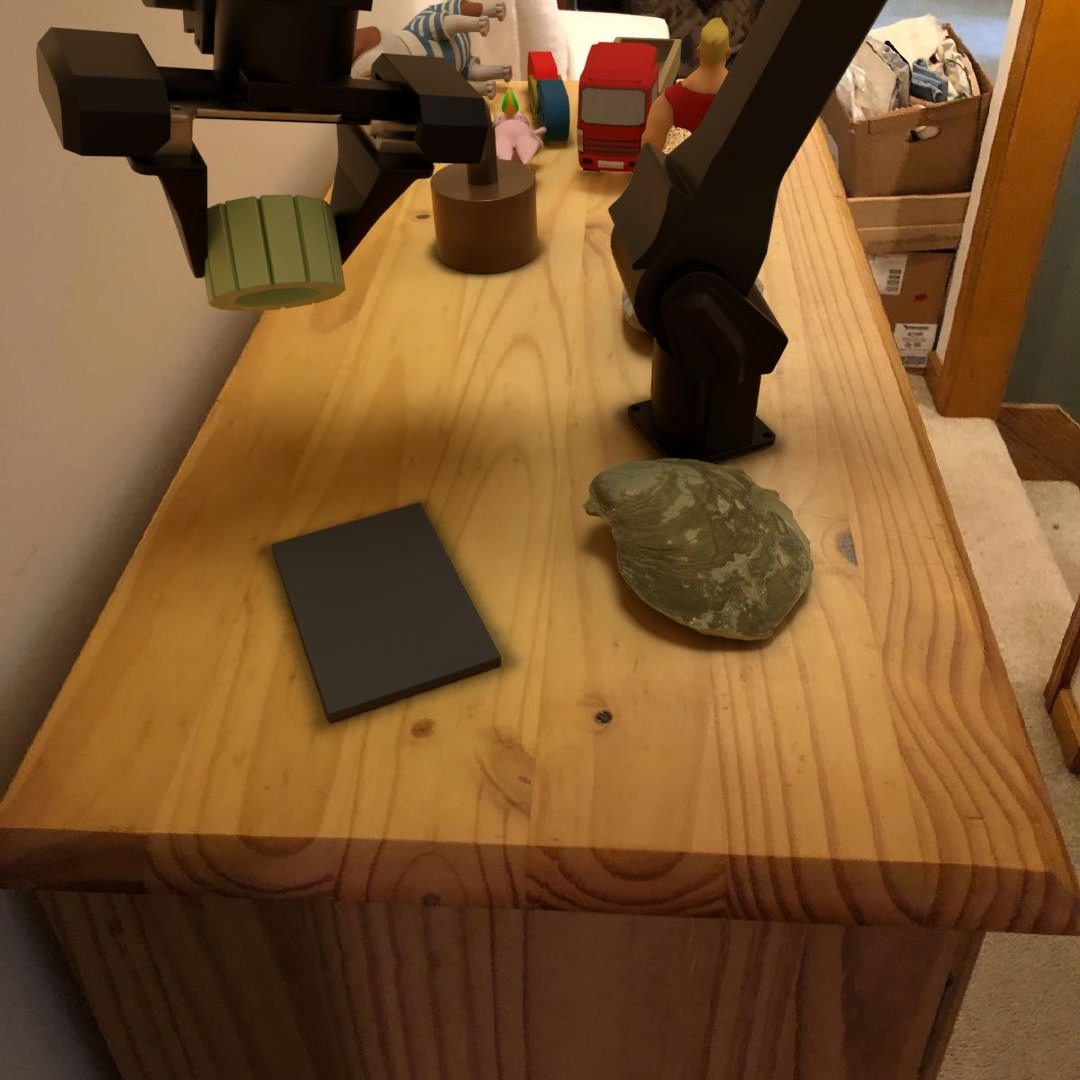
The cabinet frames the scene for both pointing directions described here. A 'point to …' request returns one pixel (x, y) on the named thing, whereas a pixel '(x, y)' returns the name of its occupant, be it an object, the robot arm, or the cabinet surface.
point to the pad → (381, 610)
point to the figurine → (438, 41)
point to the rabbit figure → (515, 133)
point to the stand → (485, 214)
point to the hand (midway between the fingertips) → (265, 271)
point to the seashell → (704, 544)
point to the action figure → (691, 89)
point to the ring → (272, 253)
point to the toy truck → (621, 98)
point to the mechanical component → (548, 96)
